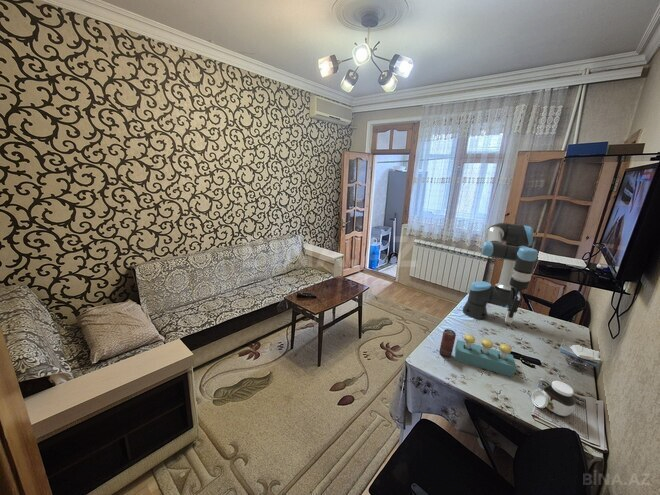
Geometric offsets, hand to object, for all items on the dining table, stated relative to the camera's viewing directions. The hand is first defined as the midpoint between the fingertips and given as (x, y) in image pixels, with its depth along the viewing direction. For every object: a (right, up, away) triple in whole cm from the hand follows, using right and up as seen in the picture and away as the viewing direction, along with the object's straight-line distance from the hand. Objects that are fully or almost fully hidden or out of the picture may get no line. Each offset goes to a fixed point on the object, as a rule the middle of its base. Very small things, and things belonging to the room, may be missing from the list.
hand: (508, 321), depth 136 cm
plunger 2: (-4, -18, -2) cm, 19 cm away
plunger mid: (-11, -17, +1) cm, 21 cm away
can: (-29, -20, +7) cm, 36 cm away
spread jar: (+2, -31, -22) cm, 38 cm away
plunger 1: (-19, -16, +4) cm, 25 cm away
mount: (-12, -22, +3) cm, 25 cm away
